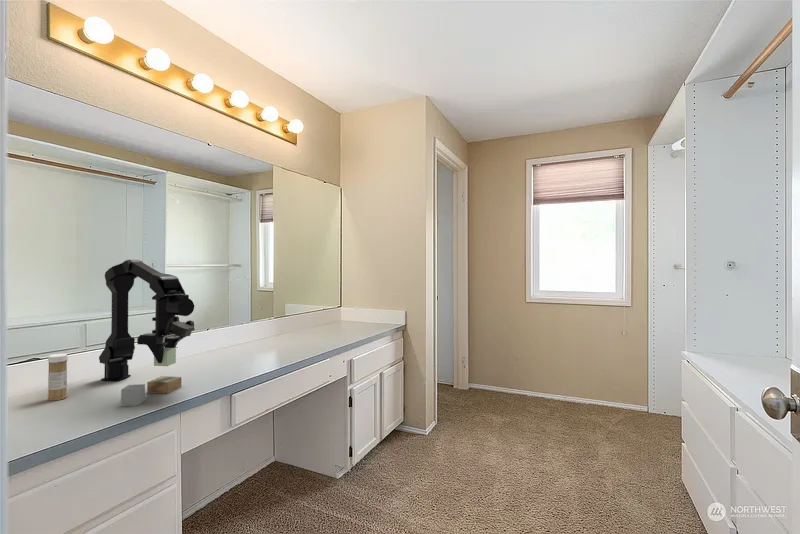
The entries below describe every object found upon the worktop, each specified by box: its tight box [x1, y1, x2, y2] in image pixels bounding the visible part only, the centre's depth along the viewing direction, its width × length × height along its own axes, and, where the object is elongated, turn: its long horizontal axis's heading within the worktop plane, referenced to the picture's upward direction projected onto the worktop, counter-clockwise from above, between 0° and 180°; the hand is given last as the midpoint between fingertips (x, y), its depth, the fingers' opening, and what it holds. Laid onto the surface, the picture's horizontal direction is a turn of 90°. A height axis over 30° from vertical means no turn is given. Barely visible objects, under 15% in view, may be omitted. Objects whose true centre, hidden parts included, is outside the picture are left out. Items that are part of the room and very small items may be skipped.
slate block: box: [120, 383, 146, 407], centre depth 121 cm, size 4×4×5 cm
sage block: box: [153, 347, 177, 367], centre depth 134 cm, size 4×4×5 cm
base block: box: [146, 375, 182, 394], centre depth 134 cm, size 7×7×4 cm
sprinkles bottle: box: [47, 353, 68, 401], centre depth 123 cm, size 5×5×14 cm
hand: (164, 361), depth 134 cm, fingers closed on sage block, 4 cm apart
